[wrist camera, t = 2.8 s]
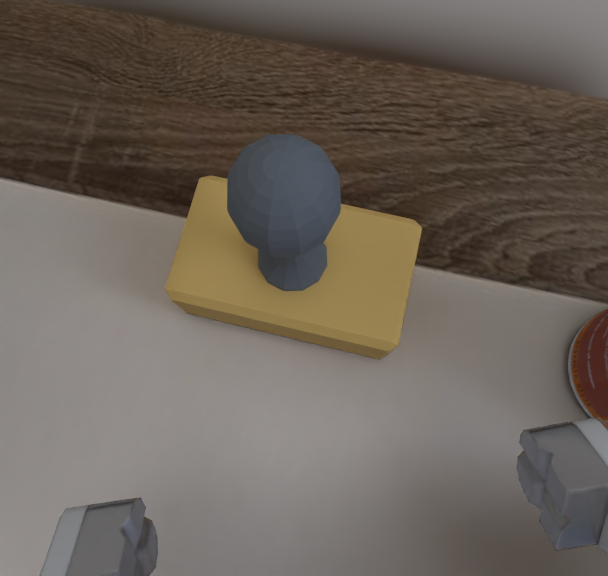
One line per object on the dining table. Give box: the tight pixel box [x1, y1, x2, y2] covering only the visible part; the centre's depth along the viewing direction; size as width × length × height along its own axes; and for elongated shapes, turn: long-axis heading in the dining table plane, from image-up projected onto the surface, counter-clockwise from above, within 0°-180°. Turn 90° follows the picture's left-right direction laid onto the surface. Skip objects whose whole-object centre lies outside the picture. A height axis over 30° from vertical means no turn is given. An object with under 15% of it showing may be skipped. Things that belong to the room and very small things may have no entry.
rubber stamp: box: [165, 134, 422, 359], centre depth 19 cm, size 10×6×12 cm, turn 76°
